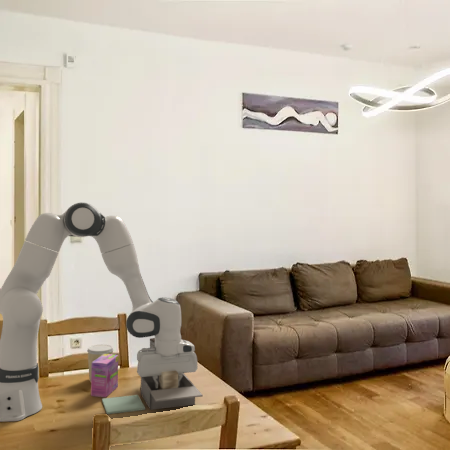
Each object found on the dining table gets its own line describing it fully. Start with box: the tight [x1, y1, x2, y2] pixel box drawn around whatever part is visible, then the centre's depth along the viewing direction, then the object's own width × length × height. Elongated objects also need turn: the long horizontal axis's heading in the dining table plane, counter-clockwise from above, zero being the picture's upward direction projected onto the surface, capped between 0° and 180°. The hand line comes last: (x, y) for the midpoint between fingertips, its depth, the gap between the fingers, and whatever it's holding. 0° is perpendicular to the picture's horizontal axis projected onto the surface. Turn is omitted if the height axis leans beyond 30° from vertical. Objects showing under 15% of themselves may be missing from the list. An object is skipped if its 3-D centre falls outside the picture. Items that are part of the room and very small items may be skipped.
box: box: [90, 353, 119, 398], centre depth 189 cm, size 10×6×12 cm, turn 168°
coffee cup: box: [87, 344, 114, 383], centre depth 201 cm, size 9×9×12 cm
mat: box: [101, 394, 146, 415], centre depth 177 cm, size 12×12×1 cm
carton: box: [140, 373, 203, 411], centre depth 179 cm, size 15×23×14 cm, turn 20°
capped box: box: [157, 371, 178, 390], centre depth 183 cm, size 5×9×10 cm, turn 20°
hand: (167, 386), depth 183 cm, fingers closed on capped box, 5 cm apart
